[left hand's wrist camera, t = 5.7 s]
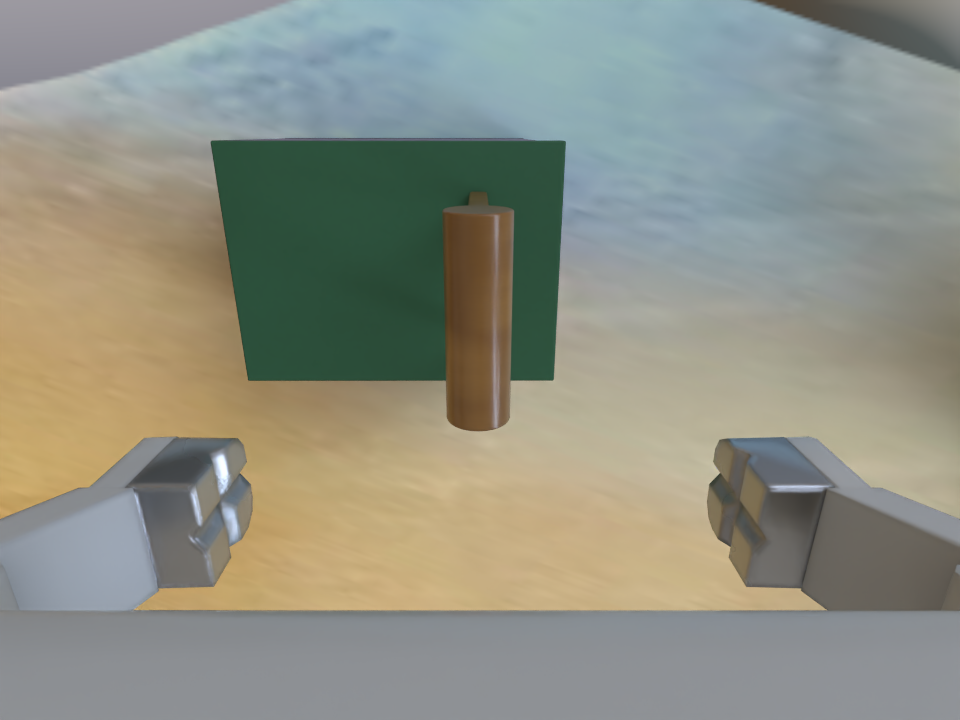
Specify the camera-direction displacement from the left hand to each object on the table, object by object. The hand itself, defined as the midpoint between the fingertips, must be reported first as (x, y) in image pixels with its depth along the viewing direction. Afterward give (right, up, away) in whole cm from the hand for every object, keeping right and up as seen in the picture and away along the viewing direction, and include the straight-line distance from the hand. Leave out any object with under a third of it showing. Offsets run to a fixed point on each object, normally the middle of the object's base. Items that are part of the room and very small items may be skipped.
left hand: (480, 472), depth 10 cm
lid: (-4, +6, +15) cm, 17 cm away
